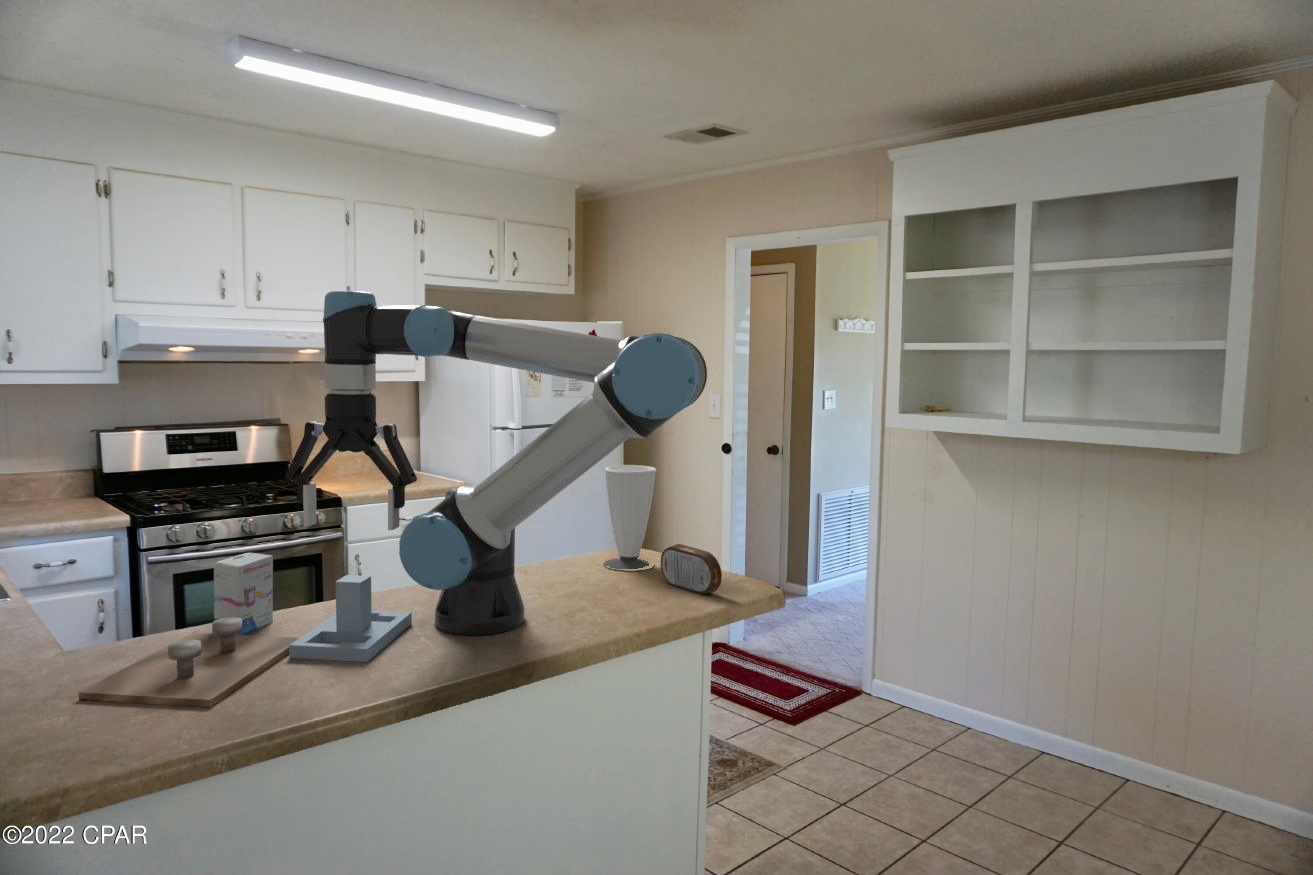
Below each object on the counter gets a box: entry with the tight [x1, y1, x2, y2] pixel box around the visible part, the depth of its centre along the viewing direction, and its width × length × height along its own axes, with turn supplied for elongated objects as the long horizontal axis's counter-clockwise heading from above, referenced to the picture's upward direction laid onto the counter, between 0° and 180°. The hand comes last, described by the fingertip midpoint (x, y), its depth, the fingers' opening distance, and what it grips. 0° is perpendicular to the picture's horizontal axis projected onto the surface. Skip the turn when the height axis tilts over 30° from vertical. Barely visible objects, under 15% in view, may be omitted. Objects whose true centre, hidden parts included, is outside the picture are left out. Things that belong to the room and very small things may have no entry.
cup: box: [603, 464, 658, 569], centre depth 186 cm, size 12×12×22 cm
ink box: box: [213, 552, 274, 635], centre depth 139 cm, size 9×5×12 cm, turn 168°
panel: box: [288, 574, 413, 663], centre depth 135 cm, size 12×18×10 cm, turn 175°
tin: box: [660, 543, 723, 595], centre depth 168 cm, size 15×3×8 cm, turn 43°
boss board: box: [78, 617, 300, 708], centre depth 121 cm, size 18×24×6 cm
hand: (351, 526), depth 133 cm, fingers open, 13 cm apart
